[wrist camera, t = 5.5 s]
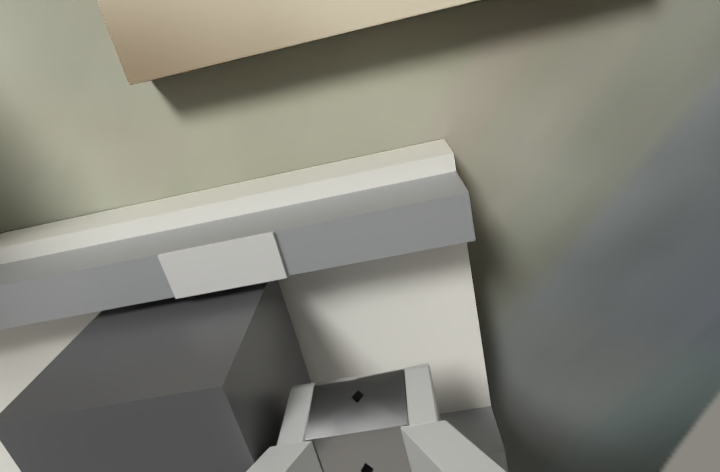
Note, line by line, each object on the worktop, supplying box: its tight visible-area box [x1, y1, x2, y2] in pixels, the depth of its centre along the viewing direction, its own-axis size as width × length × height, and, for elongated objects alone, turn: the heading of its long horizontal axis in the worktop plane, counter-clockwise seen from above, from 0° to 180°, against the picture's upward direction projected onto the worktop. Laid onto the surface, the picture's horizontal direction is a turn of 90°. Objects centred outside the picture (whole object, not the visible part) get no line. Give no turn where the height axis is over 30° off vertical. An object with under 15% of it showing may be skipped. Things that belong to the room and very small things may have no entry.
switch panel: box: [0, 139, 508, 472], centre depth 13 cm, size 8×18×3 cm, turn 103°
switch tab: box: [0, 280, 311, 472], centre depth 10 cm, size 5×4×4 cm
